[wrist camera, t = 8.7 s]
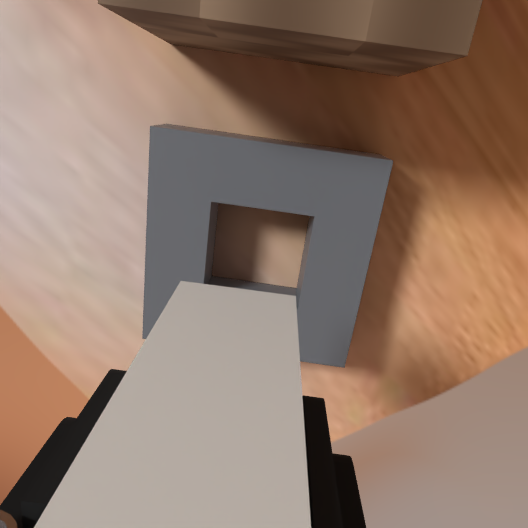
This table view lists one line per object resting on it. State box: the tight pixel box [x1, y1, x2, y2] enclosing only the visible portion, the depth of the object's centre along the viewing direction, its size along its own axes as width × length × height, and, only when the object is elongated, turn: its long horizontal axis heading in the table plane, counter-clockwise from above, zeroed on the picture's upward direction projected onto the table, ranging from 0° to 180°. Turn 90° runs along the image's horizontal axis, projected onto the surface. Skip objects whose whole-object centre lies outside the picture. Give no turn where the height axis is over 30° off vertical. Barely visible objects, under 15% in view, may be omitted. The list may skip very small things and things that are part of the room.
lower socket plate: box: [142, 124, 393, 368], centre depth 24 cm, size 12×12×3 cm
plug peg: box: [34, 281, 311, 528], centre depth 10 cm, size 4×4×11 cm
